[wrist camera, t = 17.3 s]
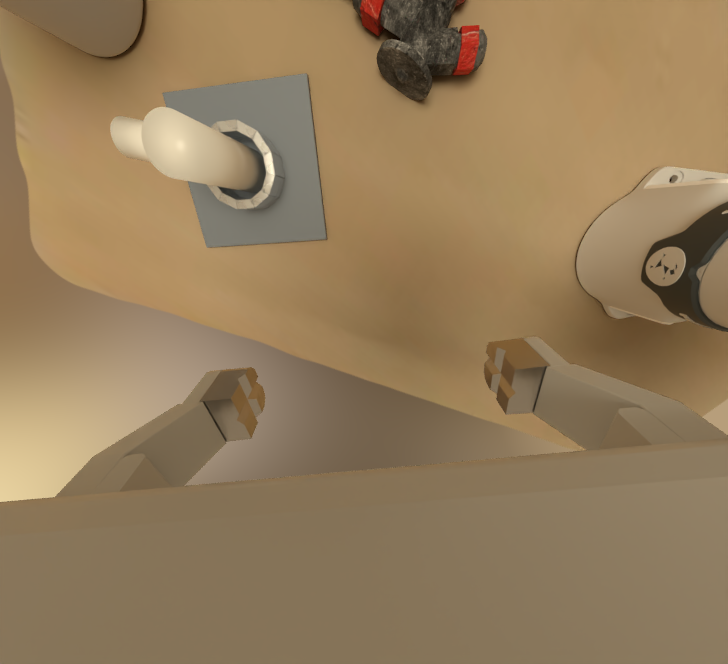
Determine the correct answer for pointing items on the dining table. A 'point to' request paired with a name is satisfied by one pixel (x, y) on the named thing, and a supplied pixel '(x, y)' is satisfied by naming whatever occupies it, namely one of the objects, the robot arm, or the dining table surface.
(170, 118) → the cream peg
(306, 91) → the slate plate
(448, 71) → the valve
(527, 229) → the dining table surface
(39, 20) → the cylinder vase
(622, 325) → the dining table surface
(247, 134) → the collar
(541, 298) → the dining table surface
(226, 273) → the dining table surface
